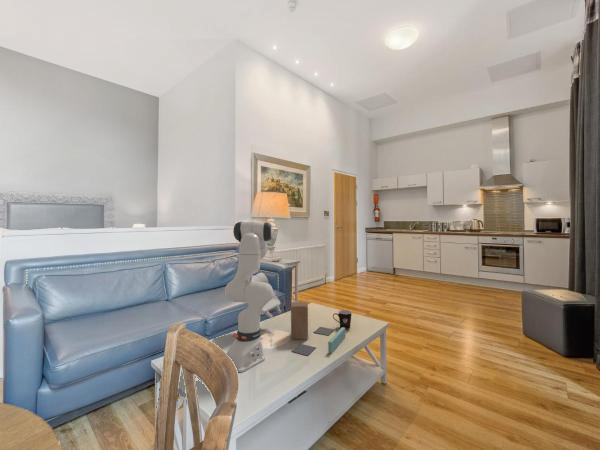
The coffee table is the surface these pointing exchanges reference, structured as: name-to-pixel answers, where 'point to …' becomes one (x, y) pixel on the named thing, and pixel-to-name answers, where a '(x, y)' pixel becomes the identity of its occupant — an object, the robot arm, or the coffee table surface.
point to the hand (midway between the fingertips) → (276, 315)
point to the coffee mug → (344, 318)
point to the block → (299, 321)
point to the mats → (309, 349)
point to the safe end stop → (336, 340)
